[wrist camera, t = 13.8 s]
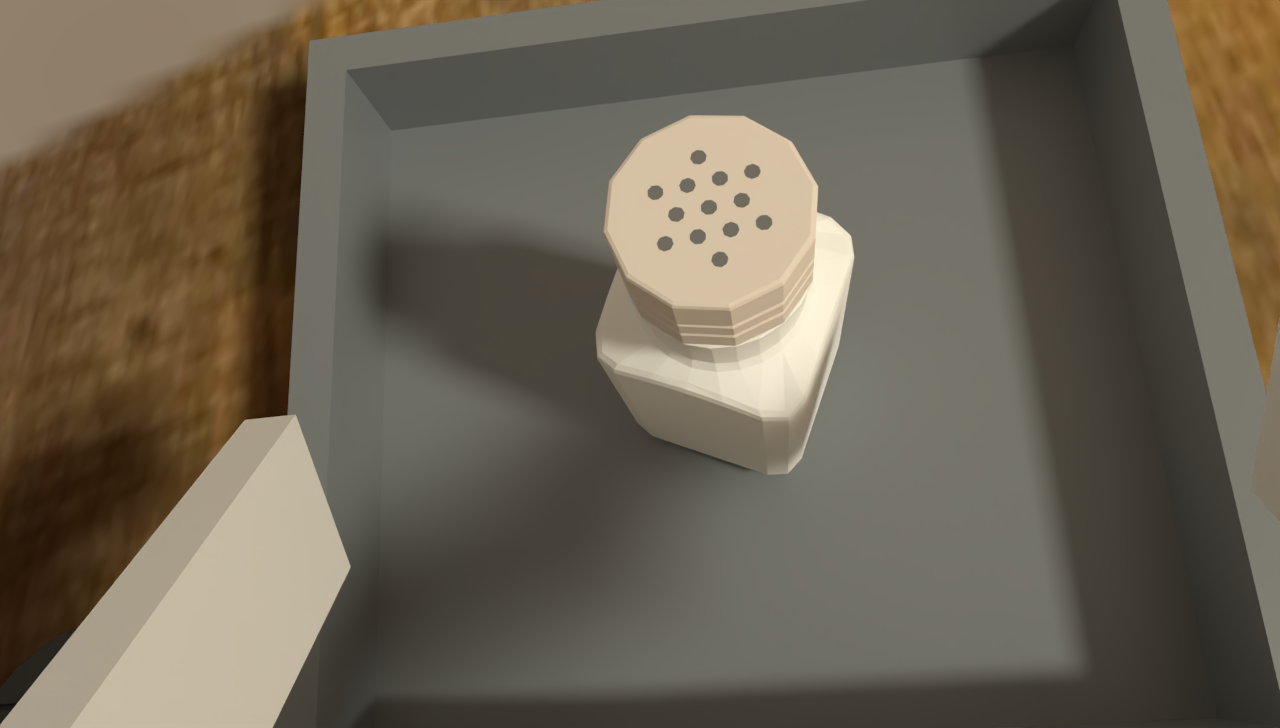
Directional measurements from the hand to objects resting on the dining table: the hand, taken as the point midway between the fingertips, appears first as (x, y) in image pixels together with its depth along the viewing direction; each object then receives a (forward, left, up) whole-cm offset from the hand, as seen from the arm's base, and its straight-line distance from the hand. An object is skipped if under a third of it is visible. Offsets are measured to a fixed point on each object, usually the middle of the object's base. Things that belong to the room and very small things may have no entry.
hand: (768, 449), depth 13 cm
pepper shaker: (-1, +4, -9) cm, 10 cm away
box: (0, +4, -10) cm, 10 cm away
